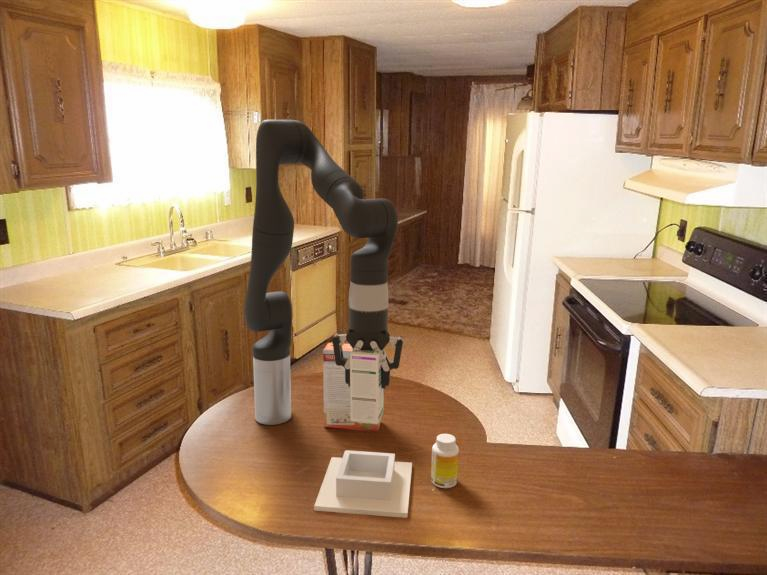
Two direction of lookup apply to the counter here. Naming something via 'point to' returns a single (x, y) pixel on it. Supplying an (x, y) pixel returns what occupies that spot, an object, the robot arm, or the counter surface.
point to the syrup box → (366, 387)
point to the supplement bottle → (445, 461)
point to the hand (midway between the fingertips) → (367, 385)
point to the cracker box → (338, 393)
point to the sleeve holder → (366, 485)
